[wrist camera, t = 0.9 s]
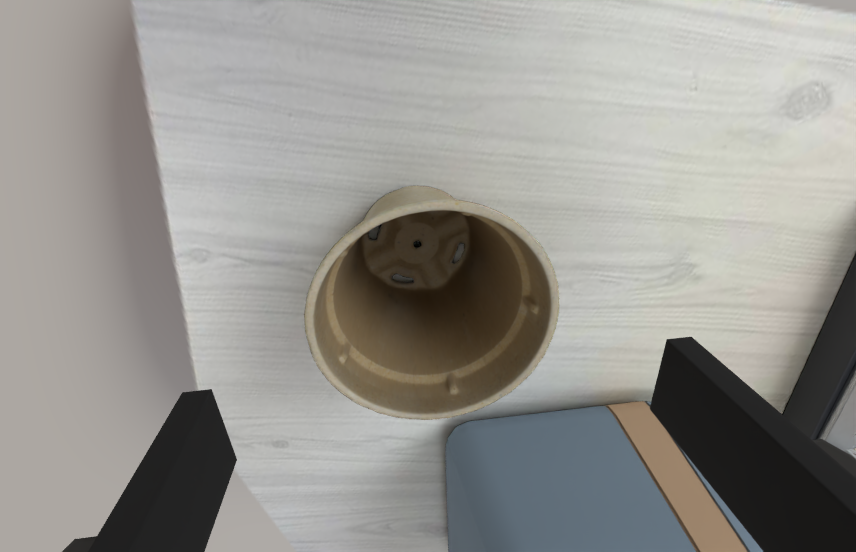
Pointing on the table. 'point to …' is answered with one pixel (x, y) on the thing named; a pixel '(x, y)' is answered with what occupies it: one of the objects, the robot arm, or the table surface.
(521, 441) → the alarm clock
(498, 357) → the flower pot
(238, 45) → the table surface
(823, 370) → the scale
